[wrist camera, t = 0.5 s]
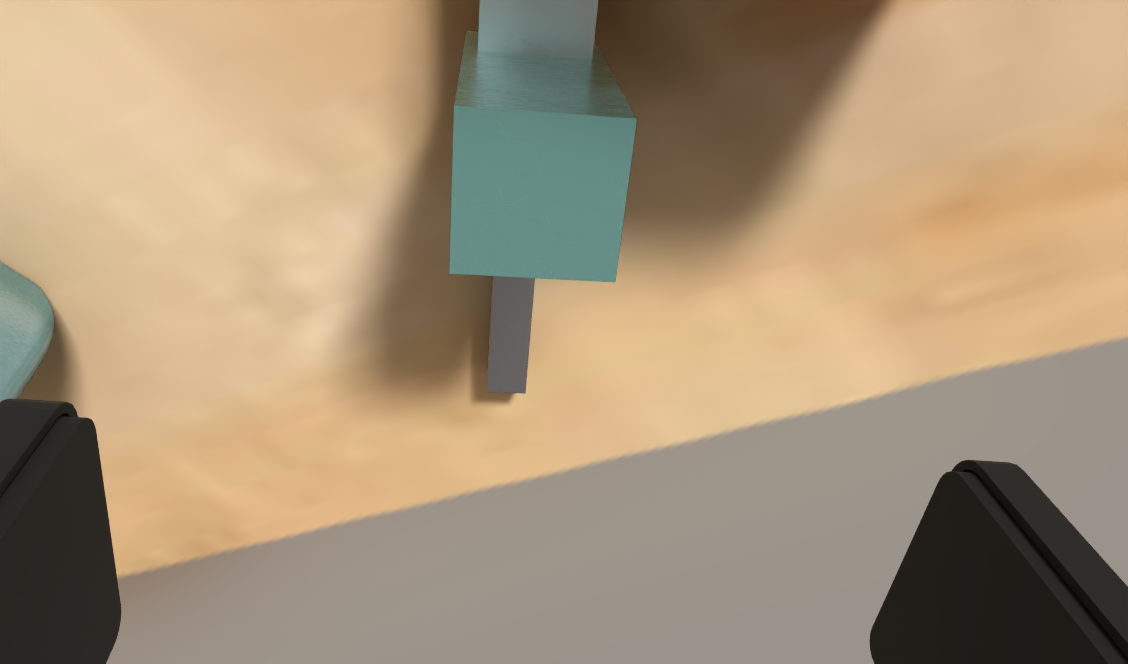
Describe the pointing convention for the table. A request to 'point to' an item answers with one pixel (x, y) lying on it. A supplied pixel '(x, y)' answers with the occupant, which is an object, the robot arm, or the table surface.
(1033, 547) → the robot arm
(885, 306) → the table surface
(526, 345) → the rail
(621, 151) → the sled
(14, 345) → the flower pot
